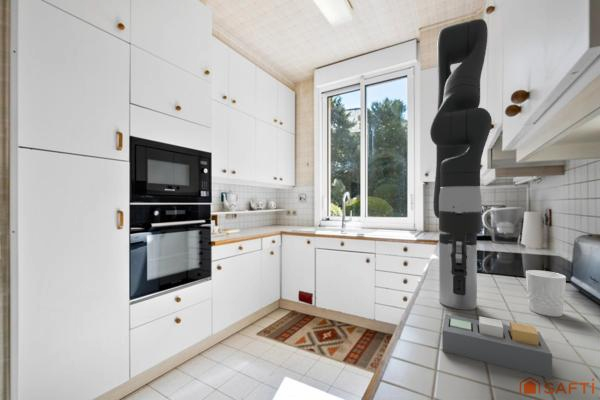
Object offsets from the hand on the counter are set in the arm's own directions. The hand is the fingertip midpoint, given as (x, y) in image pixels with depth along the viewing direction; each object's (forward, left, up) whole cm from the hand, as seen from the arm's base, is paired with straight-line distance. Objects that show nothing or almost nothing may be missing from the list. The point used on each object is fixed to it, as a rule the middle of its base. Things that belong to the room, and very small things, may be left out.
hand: (459, 293), depth 56 cm
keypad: (0, +5, -10) cm, 12 cm away
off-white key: (0, +5, -6) cm, 8 cm away
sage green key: (0, 0, -8) cm, 8 cm away
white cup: (-31, +19, -11) cm, 38 cm away
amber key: (0, +10, -6) cm, 12 cm away
